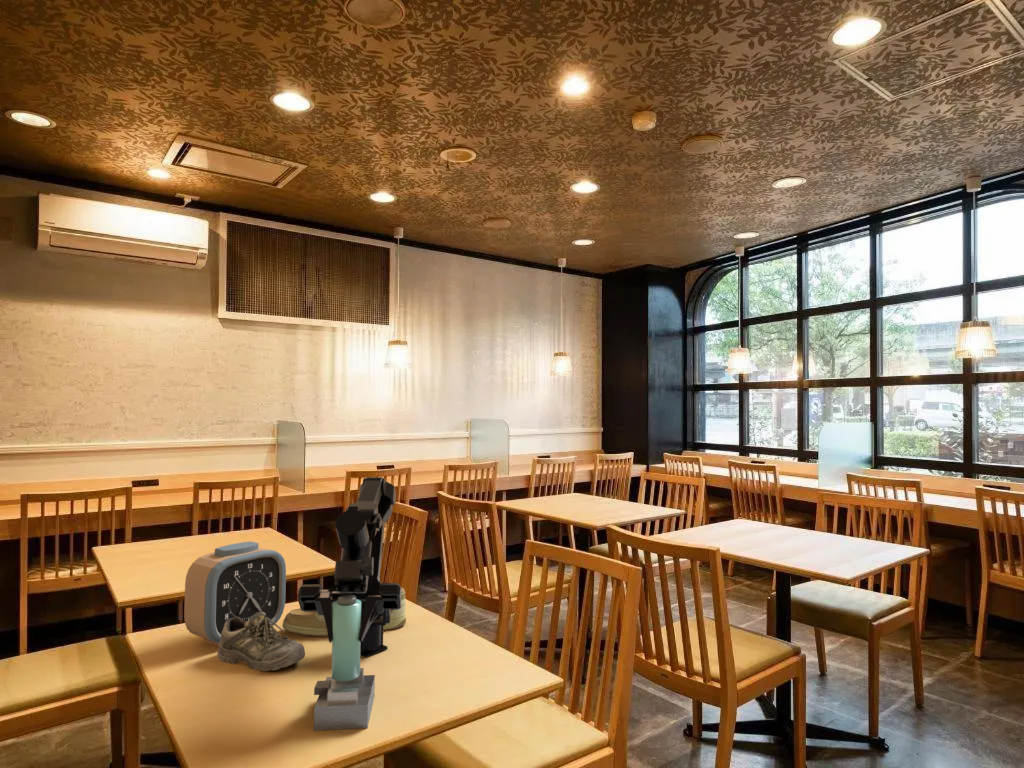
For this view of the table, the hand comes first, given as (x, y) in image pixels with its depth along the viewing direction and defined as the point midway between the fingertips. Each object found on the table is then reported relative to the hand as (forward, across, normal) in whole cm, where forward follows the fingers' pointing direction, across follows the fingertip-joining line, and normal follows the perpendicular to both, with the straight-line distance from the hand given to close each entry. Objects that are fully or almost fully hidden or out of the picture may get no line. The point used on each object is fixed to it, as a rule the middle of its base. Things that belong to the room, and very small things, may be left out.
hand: (345, 641), depth 114 cm
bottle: (+4, 0, +6) cm, 7 cm away
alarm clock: (-19, -31, +38) cm, 53 cm away
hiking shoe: (-8, -22, +28) cm, 36 cm away
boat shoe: (-22, -6, +42) cm, 47 cm away
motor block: (+8, 0, +10) cm, 13 cm away
